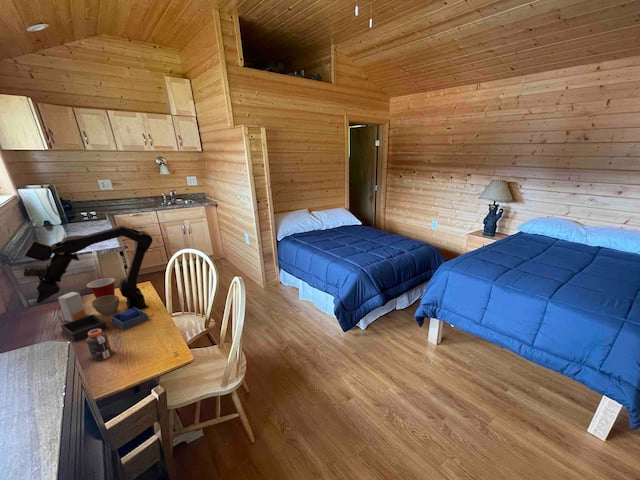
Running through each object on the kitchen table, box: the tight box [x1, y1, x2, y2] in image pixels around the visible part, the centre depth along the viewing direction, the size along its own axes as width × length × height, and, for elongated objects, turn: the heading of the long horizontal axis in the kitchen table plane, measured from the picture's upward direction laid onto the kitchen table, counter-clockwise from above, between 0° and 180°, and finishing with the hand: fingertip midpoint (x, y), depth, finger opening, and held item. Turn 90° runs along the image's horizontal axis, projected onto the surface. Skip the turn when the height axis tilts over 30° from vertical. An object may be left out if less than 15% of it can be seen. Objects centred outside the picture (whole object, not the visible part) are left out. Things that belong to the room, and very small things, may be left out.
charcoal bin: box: [60, 313, 108, 342], centre depth 128 cm, size 11×11×4 cm
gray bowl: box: [91, 294, 120, 317], centre depth 141 cm, size 10×10×7 cm
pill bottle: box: [85, 329, 113, 361], centre depth 113 cm, size 6×6×11 cm
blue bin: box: [109, 307, 149, 331], centre depth 137 cm, size 10×10×4 cm
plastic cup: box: [86, 277, 116, 299], centre depth 148 cm, size 11×11×12 cm
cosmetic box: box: [57, 291, 87, 322], centre depth 134 cm, size 6×4×12 cm
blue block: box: [119, 309, 138, 322], centre depth 136 cm, size 4×4×4 cm
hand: (38, 298), depth 123 cm, fingers open, 9 cm apart
